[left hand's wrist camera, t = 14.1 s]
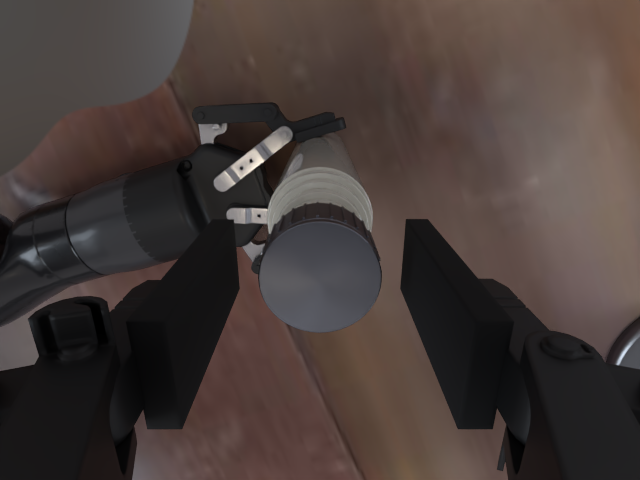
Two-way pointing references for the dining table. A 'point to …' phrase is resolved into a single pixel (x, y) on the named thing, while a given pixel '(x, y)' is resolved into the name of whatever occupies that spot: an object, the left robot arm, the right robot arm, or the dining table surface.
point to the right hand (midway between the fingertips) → (352, 158)
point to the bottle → (320, 180)
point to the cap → (320, 268)
